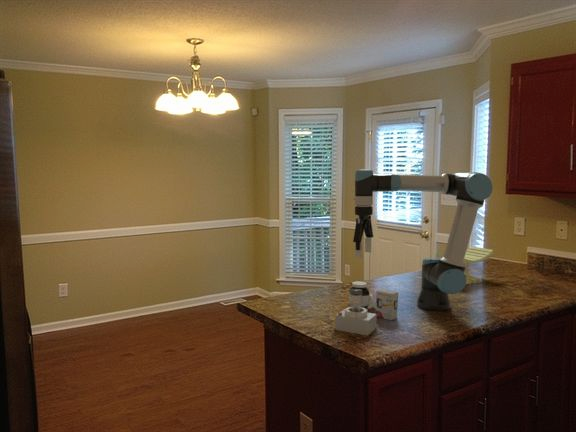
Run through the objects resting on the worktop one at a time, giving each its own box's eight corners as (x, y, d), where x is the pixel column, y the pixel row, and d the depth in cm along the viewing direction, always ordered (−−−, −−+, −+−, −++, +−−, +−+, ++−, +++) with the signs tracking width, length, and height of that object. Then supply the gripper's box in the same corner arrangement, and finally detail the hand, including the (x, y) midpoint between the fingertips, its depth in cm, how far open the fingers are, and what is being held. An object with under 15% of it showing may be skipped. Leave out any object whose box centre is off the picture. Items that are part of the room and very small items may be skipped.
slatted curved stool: (468, 274, 299) (470, 245, 297) (491, 280, 286) (493, 249, 284) (434, 280, 283) (436, 250, 281) (457, 286, 270) (459, 254, 268)
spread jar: (346, 305, 232) (346, 281, 231) (366, 302, 237) (367, 279, 236) (359, 312, 222) (360, 287, 220) (380, 309, 226) (381, 285, 225)
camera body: (376, 328, 200) (376, 309, 199) (367, 335, 192) (368, 315, 191) (344, 322, 207) (344, 304, 206) (334, 329, 198) (335, 310, 198)
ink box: (374, 316, 215) (375, 290, 214) (380, 314, 219) (381, 288, 218) (392, 320, 210) (393, 294, 209) (397, 318, 214) (398, 291, 212)
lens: (357, 312, 202) (357, 288, 201) (364, 315, 198) (364, 290, 197) (347, 314, 199) (347, 290, 198) (355, 317, 195) (355, 292, 194)
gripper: (364, 203, 222) (363, 249, 224) (345, 208, 200) (345, 259, 202) (380, 203, 219) (379, 250, 221) (363, 208, 196) (363, 260, 199)
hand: (363, 254), depth 211 cm, fingers open, 13 cm apart
